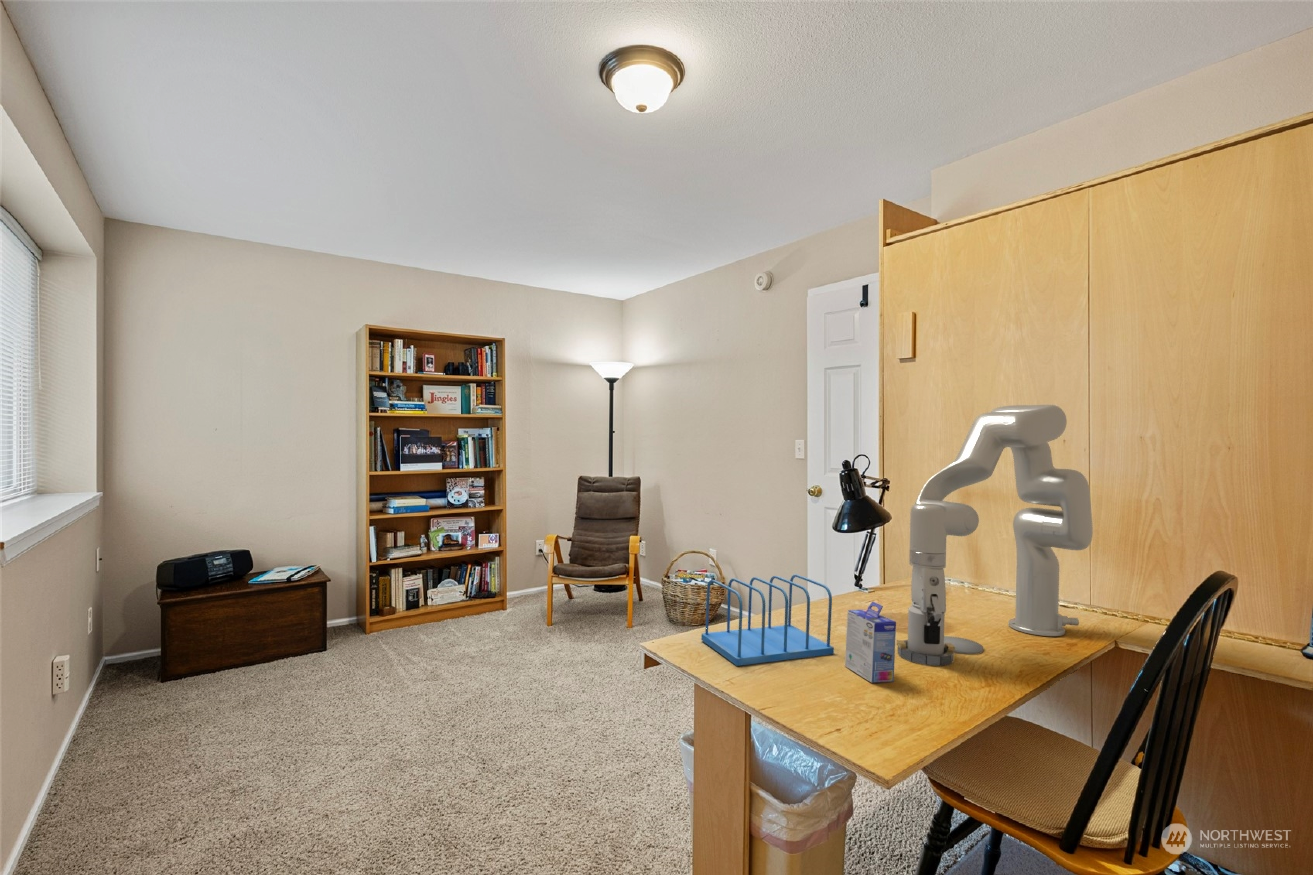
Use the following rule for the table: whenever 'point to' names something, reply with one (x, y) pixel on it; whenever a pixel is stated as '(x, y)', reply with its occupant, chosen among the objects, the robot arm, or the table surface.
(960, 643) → the coaster
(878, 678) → the ink cartridge box
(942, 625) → the can
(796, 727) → the table surface
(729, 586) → the file sorter
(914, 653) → the collar
